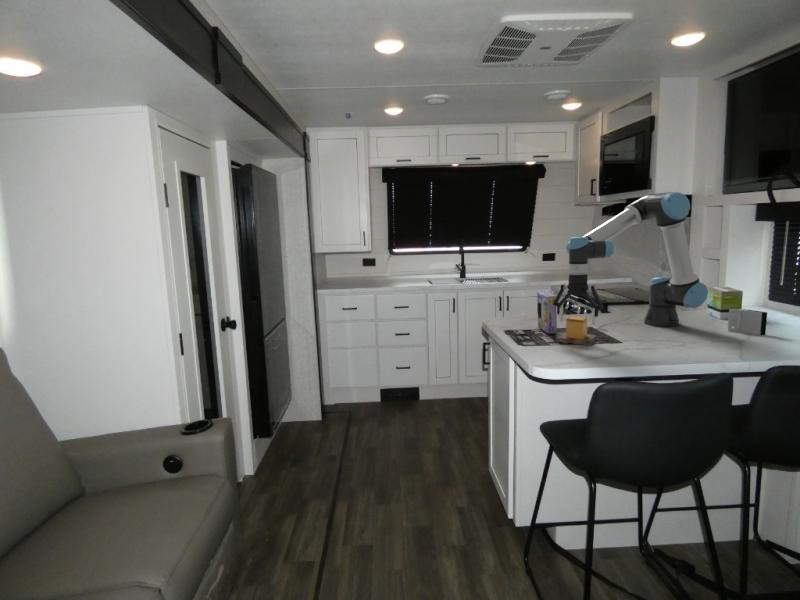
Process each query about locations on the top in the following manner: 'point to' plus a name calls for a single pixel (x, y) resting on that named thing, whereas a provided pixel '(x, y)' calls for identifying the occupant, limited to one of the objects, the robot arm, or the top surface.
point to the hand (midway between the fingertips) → (577, 322)
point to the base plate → (576, 339)
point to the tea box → (723, 301)
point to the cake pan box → (546, 312)
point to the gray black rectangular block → (747, 321)
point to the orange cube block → (576, 327)
